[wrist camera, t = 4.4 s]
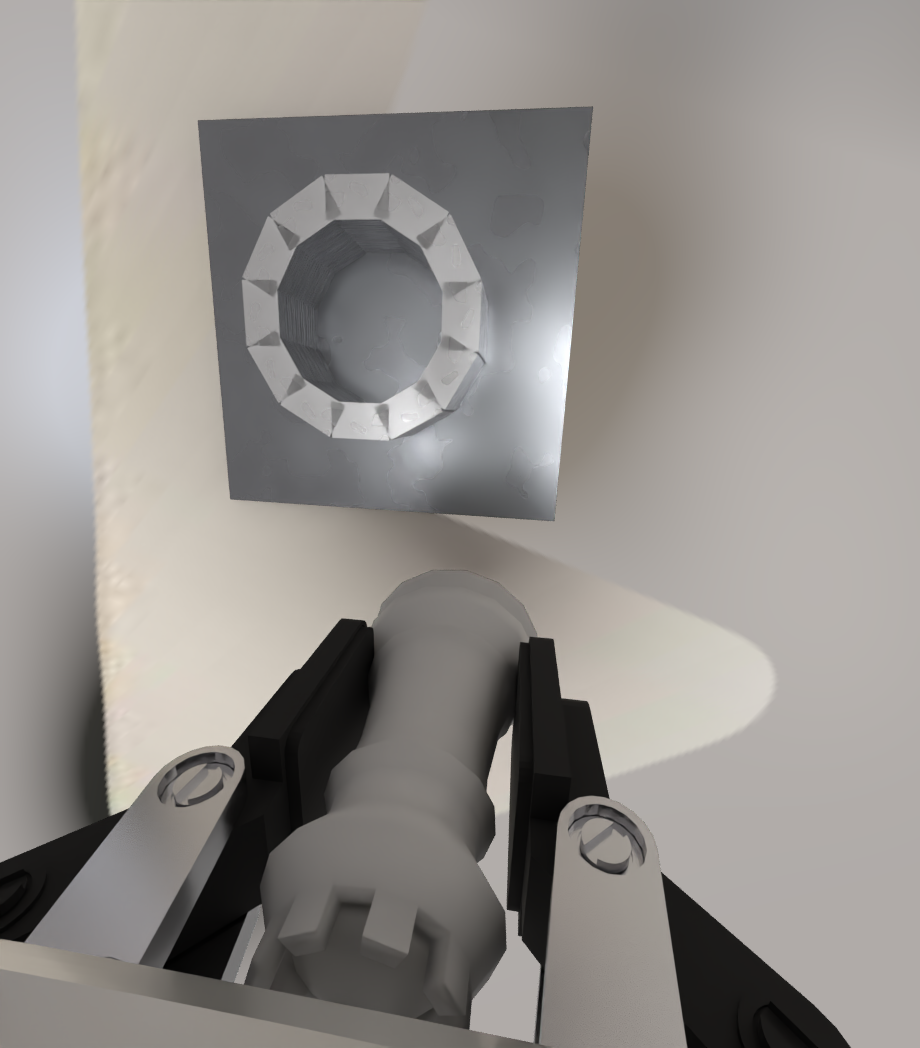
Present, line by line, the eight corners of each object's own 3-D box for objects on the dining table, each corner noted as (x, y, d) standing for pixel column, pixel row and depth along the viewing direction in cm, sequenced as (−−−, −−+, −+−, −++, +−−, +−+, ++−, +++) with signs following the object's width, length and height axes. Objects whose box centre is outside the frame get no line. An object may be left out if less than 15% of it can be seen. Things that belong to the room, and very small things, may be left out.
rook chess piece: (483, 733, 13) (429, 1190, 6) (352, 655, 13) (115, 1015, 6) (571, 619, 12) (657, 1016, 4) (426, 530, 12) (249, 779, 4)
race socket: (206, 128, 17) (129, 58, 14) (590, 115, 15) (610, 33, 12) (237, 497, 20) (181, 514, 17) (553, 518, 19) (560, 541, 15)
